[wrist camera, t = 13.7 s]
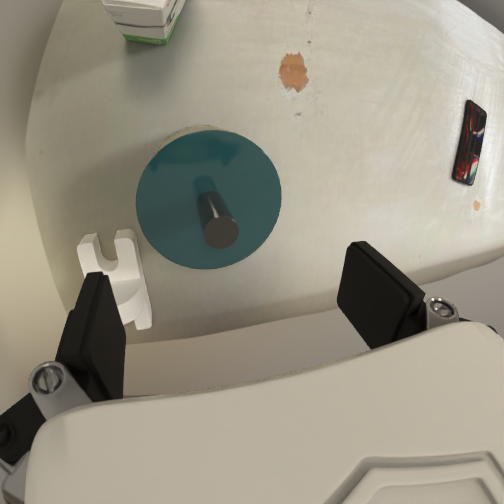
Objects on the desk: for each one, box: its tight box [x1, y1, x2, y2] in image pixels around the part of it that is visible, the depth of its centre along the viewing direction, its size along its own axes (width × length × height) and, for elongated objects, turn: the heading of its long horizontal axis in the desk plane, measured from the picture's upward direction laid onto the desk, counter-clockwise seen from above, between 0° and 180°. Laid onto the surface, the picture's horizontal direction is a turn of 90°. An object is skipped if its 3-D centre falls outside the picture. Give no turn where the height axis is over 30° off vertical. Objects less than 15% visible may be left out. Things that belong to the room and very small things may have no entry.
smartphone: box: [453, 100, 487, 186], centre depth 38 cm, size 7×1×15 cm
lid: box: [136, 129, 281, 269], centre depth 22 cm, size 13×13×6 cm
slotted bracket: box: [77, 229, 152, 330], centre depth 31 cm, size 13×7×8 cm, turn 0°
